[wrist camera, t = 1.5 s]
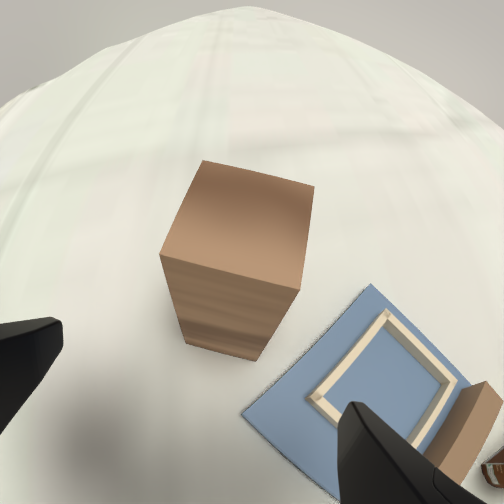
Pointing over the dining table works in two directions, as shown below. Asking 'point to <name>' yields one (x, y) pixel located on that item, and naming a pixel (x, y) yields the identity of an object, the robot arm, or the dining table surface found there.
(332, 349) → the blueprint board
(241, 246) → the pillar
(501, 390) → the dining table surface
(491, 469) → the food container
